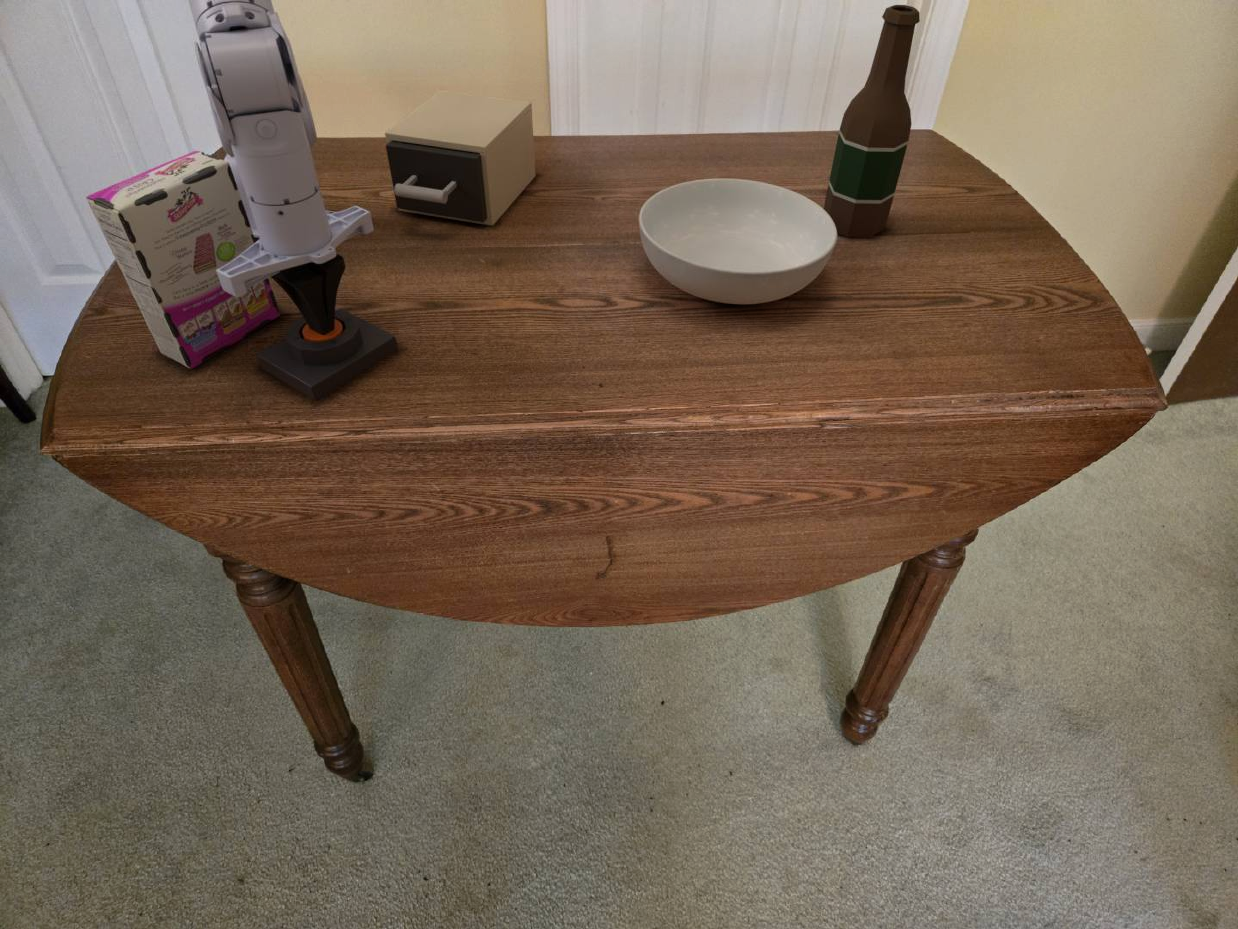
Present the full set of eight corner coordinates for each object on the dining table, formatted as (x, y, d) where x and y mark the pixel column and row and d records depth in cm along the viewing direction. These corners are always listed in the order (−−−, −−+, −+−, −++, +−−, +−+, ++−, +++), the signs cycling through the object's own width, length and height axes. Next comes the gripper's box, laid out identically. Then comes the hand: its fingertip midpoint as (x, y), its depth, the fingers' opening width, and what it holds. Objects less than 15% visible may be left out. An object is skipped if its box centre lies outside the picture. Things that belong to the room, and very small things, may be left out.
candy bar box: (249, 302, 86) (196, 147, 74) (283, 316, 84) (233, 160, 73) (156, 355, 79) (81, 193, 67) (189, 372, 77) (118, 208, 66)
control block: (315, 401, 74) (306, 370, 72) (261, 368, 78) (250, 338, 75) (398, 350, 80) (392, 320, 78) (344, 321, 83) (336, 292, 81)
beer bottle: (814, 231, 99) (858, 13, 82) (827, 204, 104) (871, -7, 87) (879, 244, 97) (938, 23, 80) (889, 216, 102) (946, 2, 85)
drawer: (468, 239, 94) (461, 173, 89) (380, 224, 97) (367, 159, 91) (524, 175, 107) (520, 115, 101) (444, 163, 109) (436, 103, 103)
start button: (323, 359, 76) (319, 344, 75) (298, 345, 77) (293, 330, 76) (354, 341, 78) (350, 326, 77) (329, 328, 79) (325, 313, 78)
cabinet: (492, 225, 99) (485, 147, 92) (398, 210, 101) (384, 132, 94) (535, 175, 109) (531, 101, 102) (449, 162, 111) (439, 89, 105)
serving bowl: (779, 354, 81) (790, 293, 76) (601, 291, 88) (601, 233, 84) (852, 263, 94) (866, 207, 89) (691, 215, 101) (696, 161, 97)
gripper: (235, 238, 61) (284, 382, 70) (384, 173, 70) (409, 309, 79) (181, 211, 64) (234, 353, 73) (330, 151, 72) (360, 285, 82)
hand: (322, 328), depth 76 cm, fingers closed, pressing on start button
